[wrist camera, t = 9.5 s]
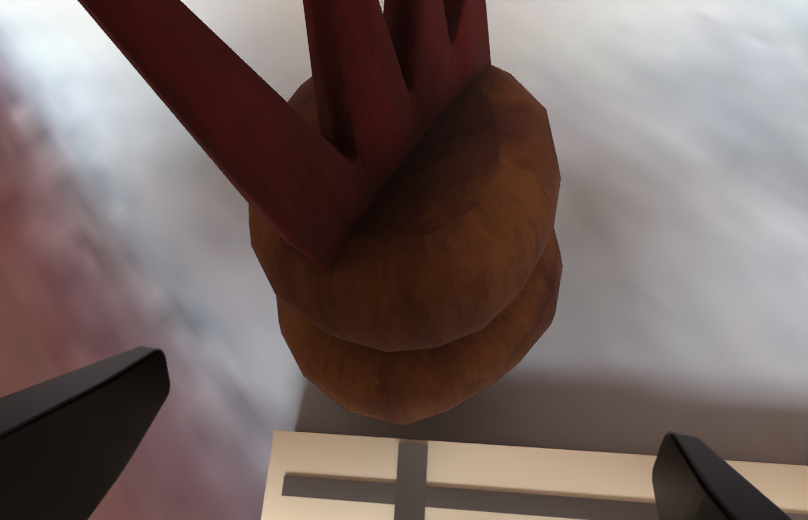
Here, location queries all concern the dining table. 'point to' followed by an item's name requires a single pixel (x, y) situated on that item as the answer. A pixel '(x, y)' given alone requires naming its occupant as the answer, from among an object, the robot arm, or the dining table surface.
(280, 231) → the wooden figurine
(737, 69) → the dining table surface
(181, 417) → the dining table surface
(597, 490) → the maple board
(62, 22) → the dining table surface
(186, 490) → the dining table surface
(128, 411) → the robot arm
